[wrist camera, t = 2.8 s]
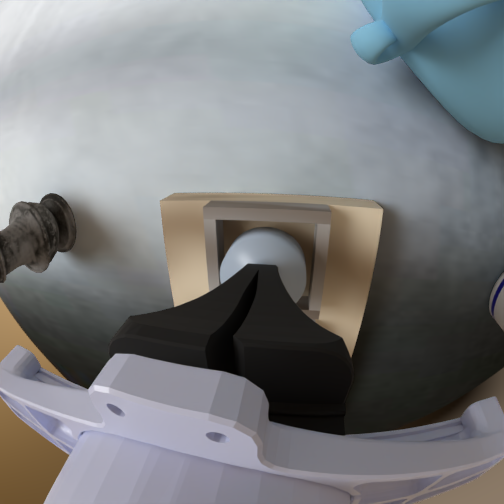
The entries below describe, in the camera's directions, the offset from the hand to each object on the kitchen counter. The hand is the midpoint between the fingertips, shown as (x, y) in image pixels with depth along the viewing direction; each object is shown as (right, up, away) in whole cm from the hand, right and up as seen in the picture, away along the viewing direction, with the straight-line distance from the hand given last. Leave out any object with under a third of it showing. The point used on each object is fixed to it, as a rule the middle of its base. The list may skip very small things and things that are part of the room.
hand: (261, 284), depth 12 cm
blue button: (0, +1, +2) cm, 2 cm away
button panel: (+1, -4, +7) cm, 9 cm away
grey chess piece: (-17, +4, +7) cm, 19 cm away
